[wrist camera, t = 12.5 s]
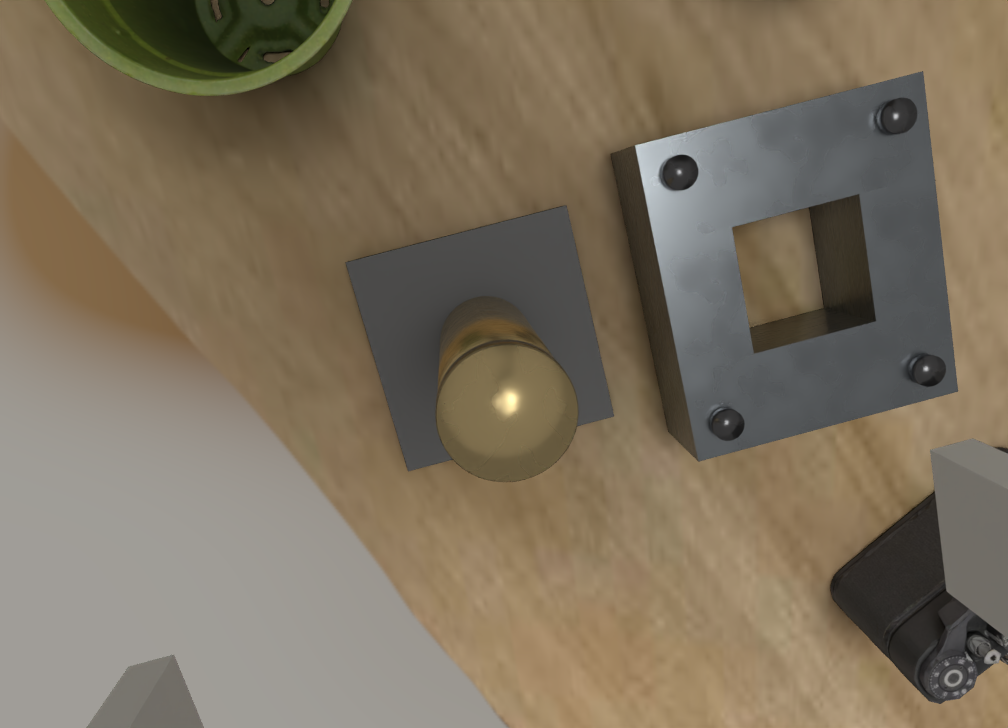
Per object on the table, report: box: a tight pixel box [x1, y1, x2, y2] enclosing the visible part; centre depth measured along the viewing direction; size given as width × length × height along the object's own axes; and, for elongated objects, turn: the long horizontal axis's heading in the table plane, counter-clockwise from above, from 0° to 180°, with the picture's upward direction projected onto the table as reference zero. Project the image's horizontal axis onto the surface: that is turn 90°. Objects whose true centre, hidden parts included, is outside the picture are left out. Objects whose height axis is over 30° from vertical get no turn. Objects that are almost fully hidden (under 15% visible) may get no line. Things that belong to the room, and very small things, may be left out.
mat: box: [346, 206, 614, 471], centre depth 39 cm, size 12×12×1 cm
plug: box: [435, 296, 579, 482], centre depth 32 cm, size 5×5×14 cm
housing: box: [611, 71, 958, 461], centre depth 37 cm, size 16×14×6 cm
